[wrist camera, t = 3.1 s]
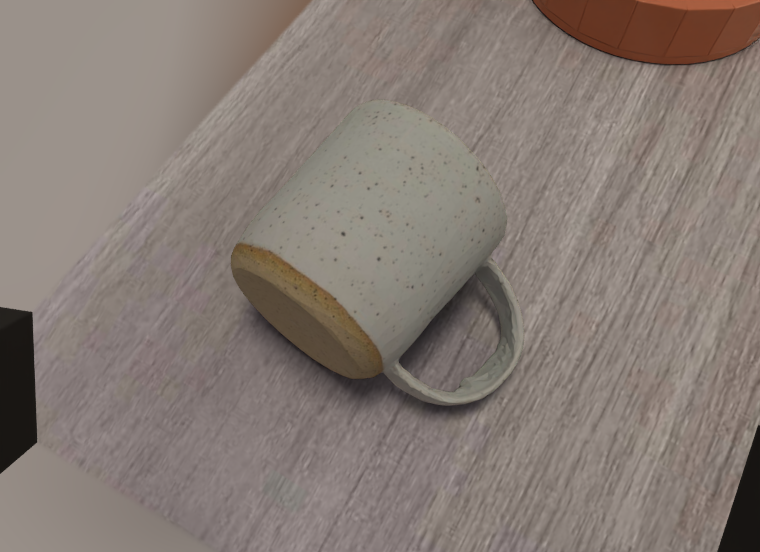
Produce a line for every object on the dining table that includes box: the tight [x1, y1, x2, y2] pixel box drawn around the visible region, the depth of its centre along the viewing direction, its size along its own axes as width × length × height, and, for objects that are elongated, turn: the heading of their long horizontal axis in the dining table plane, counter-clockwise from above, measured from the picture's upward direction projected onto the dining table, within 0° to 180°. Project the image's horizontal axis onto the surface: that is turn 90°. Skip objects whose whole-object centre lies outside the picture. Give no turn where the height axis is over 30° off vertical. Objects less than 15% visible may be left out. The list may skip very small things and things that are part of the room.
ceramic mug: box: [231, 100, 524, 406], centre depth 24 cm, size 11×8×8 cm
